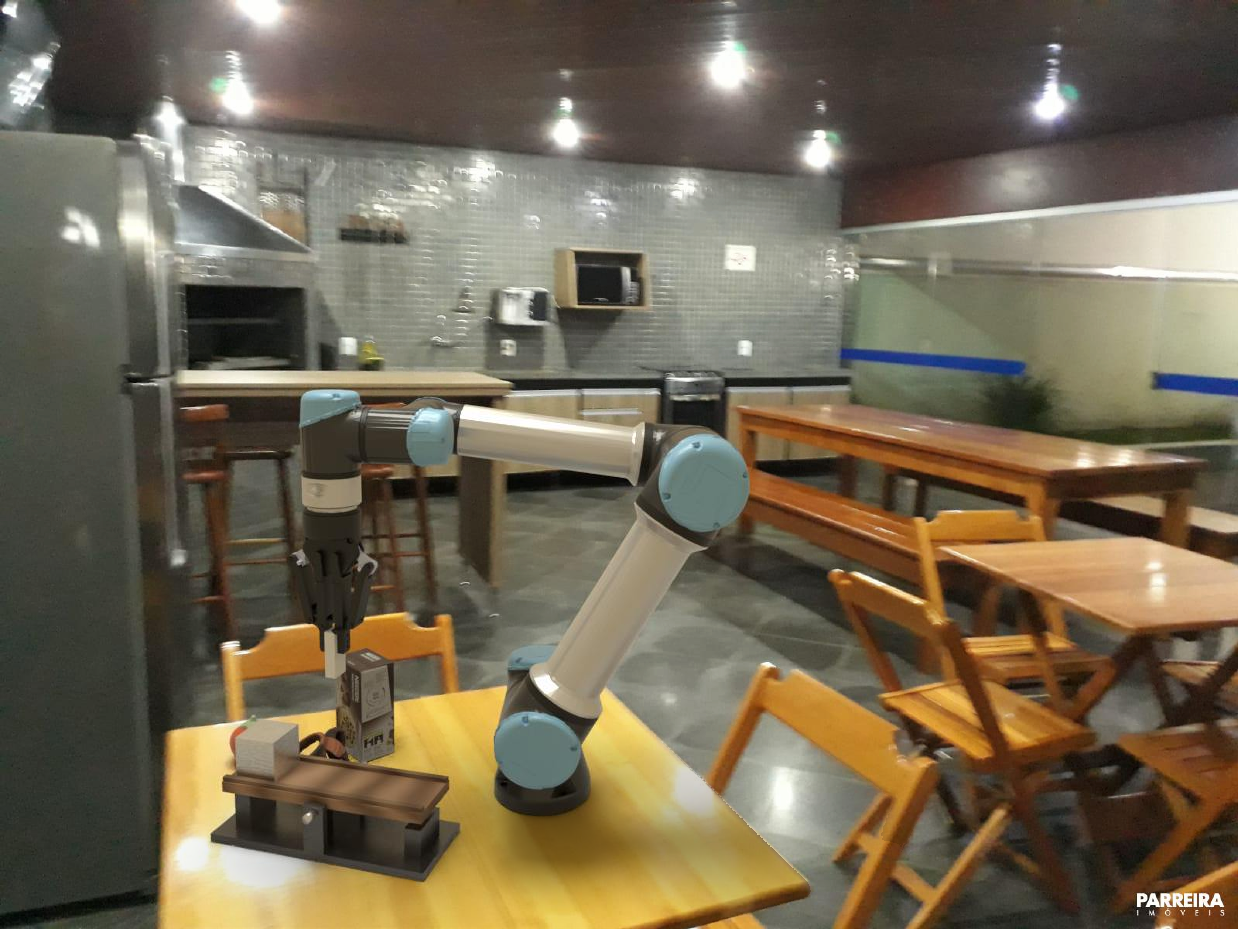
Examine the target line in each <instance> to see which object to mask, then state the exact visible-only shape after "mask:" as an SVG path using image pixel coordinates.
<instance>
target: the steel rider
mask: <svg viewBox="0 0 1238 929" xmlns="http://www.w3.org/2000/svg"><path fill="white" fill-rule="evenodd" d="M260 719H261V720H259V721H258V722H257V723H255V724H254V725H252V726H251V727H249V728H248V729H247V730H245V731H244V732H242V733H241V734H239V735H238V736H237V737H235V748H236V758H235V764H236V765H235V766H236V771H237V776H241V777H247V778H254V779H260V780H266V781H273V782H277V781H279V780H280V779H281V778H282V777H283V776H284V775H286V774H287V773H288V772H289V771H290V770H292V769H293V768H294V767H295V766H296V765H298V764H299V763H300V754H301V753H300V754H299V742H300V736H299V735H300V733H299V732H300V731H299V730H300V728H299V724H298V723H295V722H286V721H279V720H273V719H272V720H271V719H265V718H260Z"/></svg>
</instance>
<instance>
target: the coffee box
mask: <svg viewBox="0 0 1238 929" xmlns="http://www.w3.org/2000/svg"><path fill="white" fill-rule="evenodd" d="M345 661H346V671H345V672H344V673H342V674H341V675H340V676H338V677H337V678H336V679H334V689H335V690H334V691H335V692H334V693H335V720H336V724H335V725H336V726H335V727H338V728H341V729H342V730H343V731H344V733H345V738H346V742H345V750H346V752H347V754H348V755H350V756H352V757H353V758H355V759H356V760H358V761H359V763H360V762H361V761H366V762H367V763H368V762H370V761H373V760H376V759H379V758H381V757H384V756H387V755H390V754H392V753H395V662H394V661H393V660H391V659H388V658H387V657H386V656H383V655H381V654H380V653H378V652H376V651H373V650H372V649H369V648H368V647H364V648H361V649H357V650H353V651H351V652H346V653H345Z"/></svg>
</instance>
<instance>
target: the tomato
mask: <svg viewBox="0 0 1238 929" xmlns="http://www.w3.org/2000/svg"><path fill="white" fill-rule="evenodd" d="M261 719H262V718H258V717H257V715H256V714H252V715H251V716H250V718H249V719H247V720H246V721H244V722H243V723H241V724H240V725H238V726H237V727H236V728H235V729H234V730H233V731H232V732H231V735H230V737H229V748H230V750H231V753H232V755H233V756H234V758H235V759H236V748H235V737H237V736H238V735H239V734H241V733H242V732H244V731H245V730H247V729H248V728H249V727H251V726H252V725H254V724H255V723H257V722H258V721H259V720H261Z"/></svg>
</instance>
